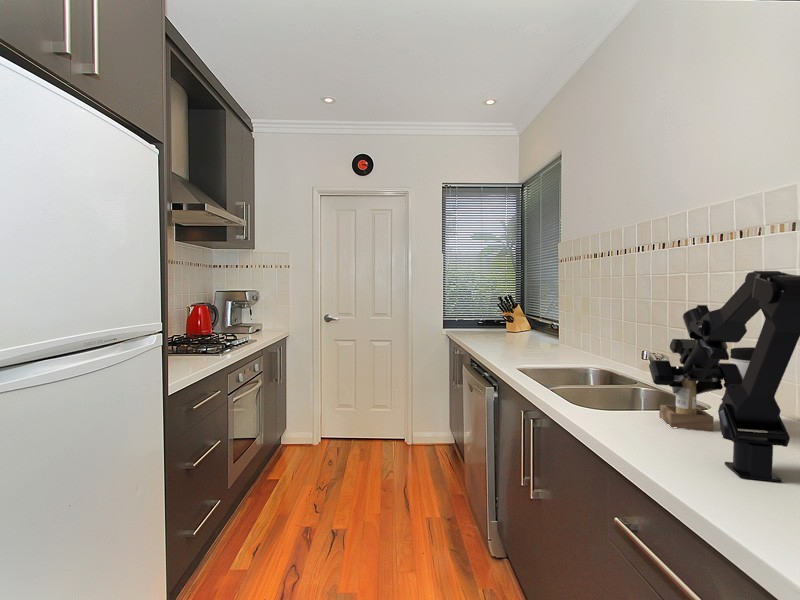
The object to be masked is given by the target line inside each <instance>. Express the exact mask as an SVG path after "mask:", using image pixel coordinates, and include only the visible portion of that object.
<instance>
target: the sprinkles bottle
mask: <svg viewBox="0 0 800 600" xmlns="http://www.w3.org/2000/svg"><path fill="white" fill-rule="evenodd" d="M679 366H680V365H679ZM679 366H676V367H677V369H678V367H679ZM681 382H682V385H683V387H682V388H681V389H680V390H679V391H678V392H677V393H675V406H676V413H680V414H693V415H696V407H697V395H698V394H697V391H696V385H697V382H698V381H688V379H683V380H682V381H681ZM696 394H697V395H696Z"/></svg>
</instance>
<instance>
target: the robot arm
mask: <svg viewBox="0 0 800 600" xmlns="http://www.w3.org/2000/svg"><path fill="white" fill-rule="evenodd" d="M760 310H761V311H762V314H763V316H764V322H763V325H762V328H761V330H760V332H759V336H758V338H757V341H756V344H755V347H754V348H755V349H754V352H753V354H752V357H751V360H750V363H749V365H748V368H747V371H746V373H745V376H744V379H743V377H742V375H741V373H740V370H739V368H738V366H737V365H736V364H733V363H730V362H720V361H728V360H729V361H730V355H729V353H728V347H729V346H728V344H727V343H739V342H740V341H741V340H742V339H743V338H744V337H745V335H746V334H747V332H748V330H747V326H746V324H747V323H748V322H749V321H750V320H752V318H753V317H754V316H755V315H756V314H757V313H759V311H760ZM682 320H683V323H684V325H685V328H686V331H687V333H688V336H689V338H672V340H671V341H670V344H669V349H670V351H671V353H672V354H678V355H679V356H680V358H679V363H680V364H681V365H682V366H680V365H679V367H678V366H672V365H671V362H670V360H667V359H665V360H662V359H652V360H651V361H650V363H649V366H648V367H649V371H650V375H651V378H652V383H653V384H655V385H657V386H669V387H670V388H671V389H672V393H673V394H675V395H676V393H677V392H678V391H679V390H680V389H681V388H682V387H683V385H682V382H681V381H682V380H683V379H688V381H697V382H696V383H697V385H696V391H697V394H696V396H697V395H700V394H704V393H708V392H712V391H718V390H719V391H720V390H723V388H725V390H724V394H723V396H722V398H721V403H720V404H719V406H718V410H717V412H718V413H717V414H718V419H719V420H718V421H719V427H720V432H721V435H722V439H723V440H728V441H731V442H732V443H733V447H732V448H733V452H732V453H733V454H732V461H724V465H725V467H727V468H728V469H730V470H731V471H732V472H733V473H734V474H736V475H737V476H738V477H740V478H742V479H751V480H761V481H767V482H768V481H770V482H778V483H779V482H780V483H782V481H783V479H782V478H781V477H780V476H778V475H777V473H774V472H773V461H774V460H773V458H774V446H780V447H781V446H782V447H788V445H789V443H790V438H791V437H790V435H789V433H788V431H787V429H786V426H785V424H784V422H783V420H782V417H781V416H780V415H781V408H780V406H779V404H778V401H777V400H776V398H775V396H776V394H777V392H778V388H779V387H780V384H781V382H782V380H783V377H784V375H785V372H786V370H787V368H788V365H789V363H790V361H791V358H792V357H793V354H794V351H795V349H796V347H797V344H798V342H799V339H800V275H799V274H798V275H797V274H790V273H786V272H783V271H779V270H754V271H751V272H748V273H747V274H746V275H745V279H744V282H743V283H742V284H741V285H740V287H739V288H737V290H735V292H734V294H732V296H731V297H730V298H729V299H728V300H727V301H726V302H725V303H724V304H723V306H722V307H720V308H718V309H714V310H711V311H710V310H709V308H708V305H707V304H706V305H705V304H697V305H696V307H695V308H691V309H689V310H687V311H686V312H684V313H683V315H682ZM677 367H678V369H677ZM723 381H724V382H723ZM722 382H723V384H722ZM745 430H746V431H745ZM760 431H761V432H760Z"/></svg>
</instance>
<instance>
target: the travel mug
mask: <svg viewBox="0 0 800 600" xmlns="http://www.w3.org/2000/svg"><path fill="white" fill-rule="evenodd" d="M754 349H755V347H752V346H751V347H747V346H746V347H733V348H730V355H729V363H733V364H736V365H737V366H738V368H739V370H740V373H741V375H742V377H743V379H744V376H745V373H746V371H747V368H748V365H749V363H750V360H751V357H752V354H753V352H754Z"/></svg>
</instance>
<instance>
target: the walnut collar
mask: <svg viewBox="0 0 800 600" xmlns="http://www.w3.org/2000/svg"><path fill="white" fill-rule="evenodd" d="M659 418H660V419H661V418H662V419H663V420H664V421H665V422H666V423H667V424H669V425H670V426H671V427H677V428H676V429H678V428H686V429H685V430H690V429H693V430H694V431H702V430H704V432H714V415H713V416H712V415H711V414H709V413H708V412H706V411H705V410H703V409H702V408H700V407H698V406H696V415H693V414H680V413H676V404H675V405H673V404H672V405H671V404H659ZM662 419H661V420H662ZM663 420H662V421H663ZM664 421H663V422H664ZM665 422H664V423H665ZM666 423H665V424H666ZM667 424H666V425H667ZM670 426H669V427H670ZM671 427H670V428H671ZM693 430H692V431H693Z"/></svg>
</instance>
